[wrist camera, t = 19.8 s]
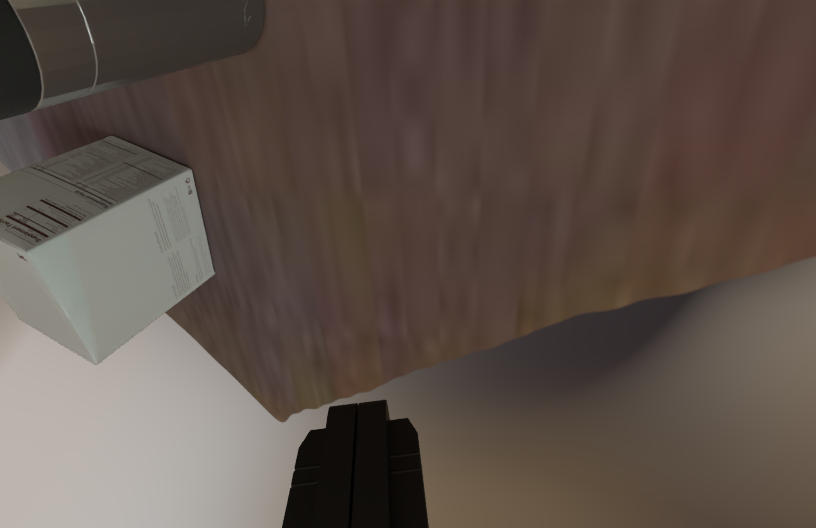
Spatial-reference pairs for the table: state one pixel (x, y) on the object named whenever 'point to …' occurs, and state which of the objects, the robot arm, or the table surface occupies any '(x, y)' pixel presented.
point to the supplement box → (100, 244)
